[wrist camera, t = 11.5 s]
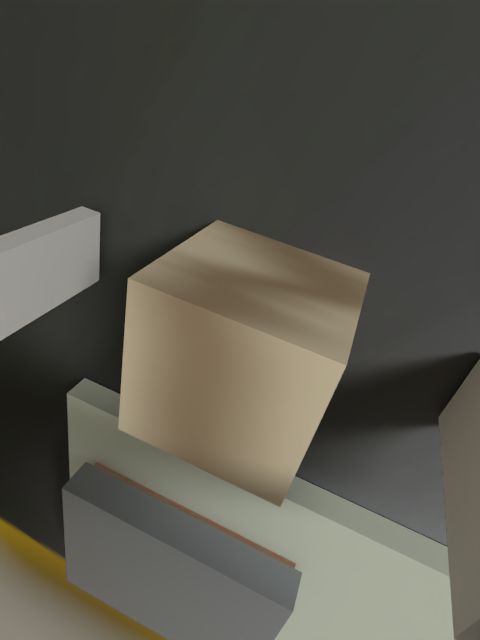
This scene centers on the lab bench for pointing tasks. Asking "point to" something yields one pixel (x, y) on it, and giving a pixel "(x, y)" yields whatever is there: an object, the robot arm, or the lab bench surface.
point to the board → (290, 535)
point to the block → (236, 353)
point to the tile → (171, 563)
